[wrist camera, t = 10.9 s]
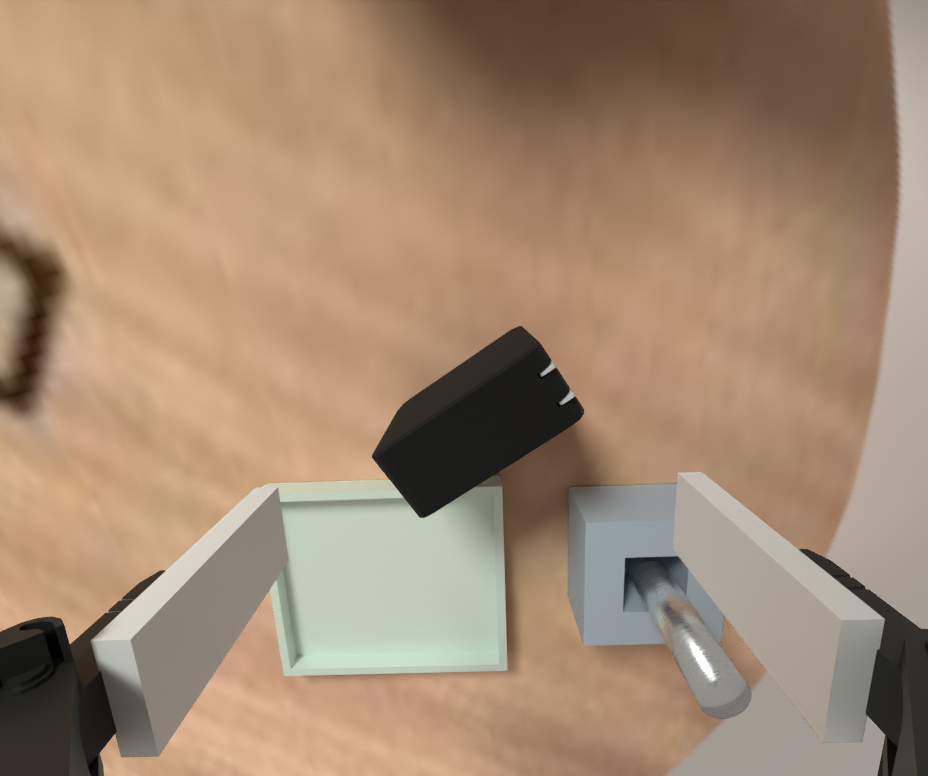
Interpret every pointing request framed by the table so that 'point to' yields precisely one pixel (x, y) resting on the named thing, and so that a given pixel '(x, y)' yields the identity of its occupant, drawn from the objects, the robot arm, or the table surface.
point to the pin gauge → (689, 640)
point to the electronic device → (476, 422)
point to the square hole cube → (603, 562)
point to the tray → (390, 581)
